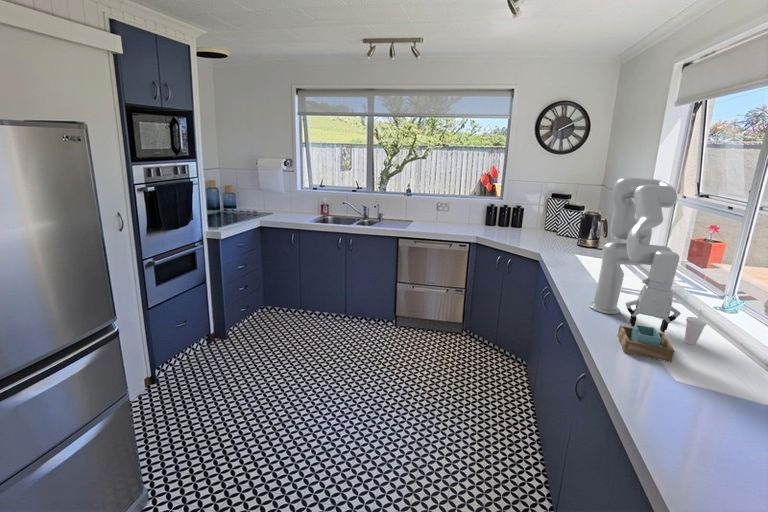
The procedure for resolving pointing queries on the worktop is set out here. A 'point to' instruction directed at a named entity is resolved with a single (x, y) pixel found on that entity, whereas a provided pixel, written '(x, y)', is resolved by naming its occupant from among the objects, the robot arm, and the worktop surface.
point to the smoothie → (694, 329)
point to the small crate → (645, 335)
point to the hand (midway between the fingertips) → (647, 328)
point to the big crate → (645, 346)
